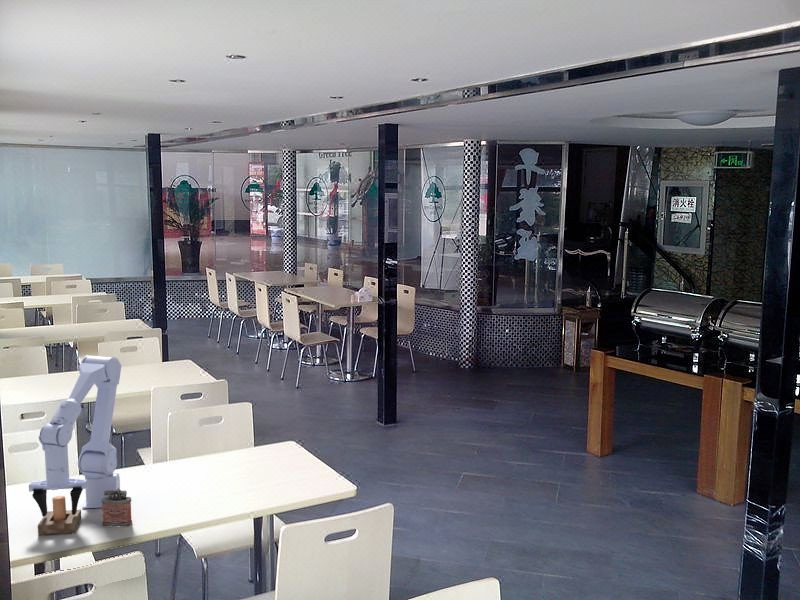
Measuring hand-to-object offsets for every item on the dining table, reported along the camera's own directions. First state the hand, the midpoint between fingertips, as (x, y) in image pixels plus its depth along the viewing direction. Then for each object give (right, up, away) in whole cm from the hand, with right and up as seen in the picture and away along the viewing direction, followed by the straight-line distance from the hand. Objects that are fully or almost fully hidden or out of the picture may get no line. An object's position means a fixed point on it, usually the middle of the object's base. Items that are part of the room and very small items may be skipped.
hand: (59, 514), depth 209 cm
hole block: (0, -4, +1) cm, 4 cm away
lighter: (+15, -4, +3) cm, 16 cm away
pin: (0, -3, 0) cm, 3 cm away
